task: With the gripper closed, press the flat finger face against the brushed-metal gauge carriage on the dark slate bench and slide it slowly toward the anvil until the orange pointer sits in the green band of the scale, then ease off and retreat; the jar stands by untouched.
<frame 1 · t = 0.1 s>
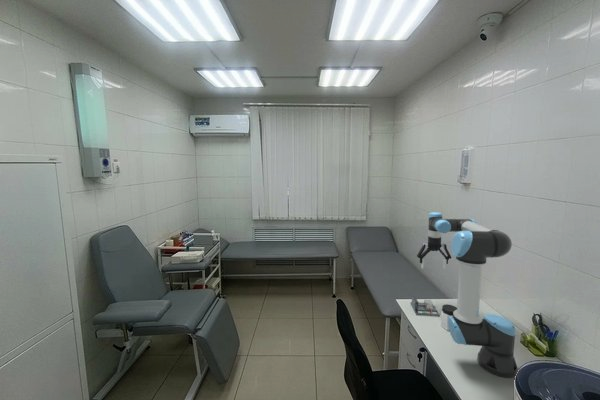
hand: (433, 268, 172), 28 cm above the table, fingers open, 13 cm apart
gauge carriage: (429, 305, 172), point 4 cm above the table, slide at 0.0 cm
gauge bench: (424, 309, 174), on the table
jar: (449, 327, 155), on the table
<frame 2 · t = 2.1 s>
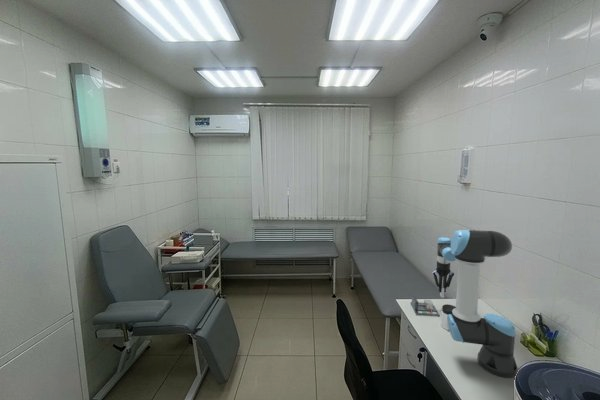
hand: (441, 296, 172), 10 cm above the table, fingers closed
nothing on the table moved.
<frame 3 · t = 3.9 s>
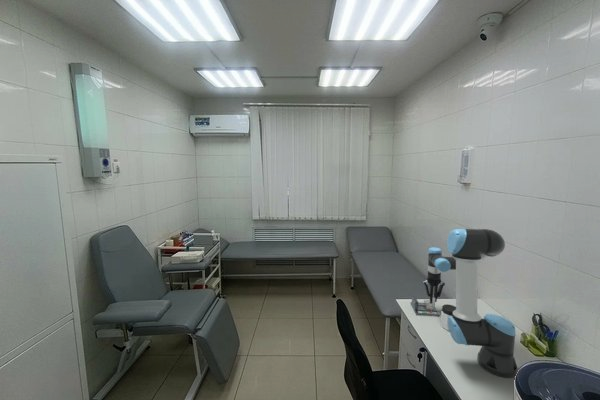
hand: (432, 306, 173), 3 cm above the table, fingers closed
gauge carriage: (429, 305, 172), point 4 cm above the table, slide at 0.0 cm, touching gripper
everything else where it was.
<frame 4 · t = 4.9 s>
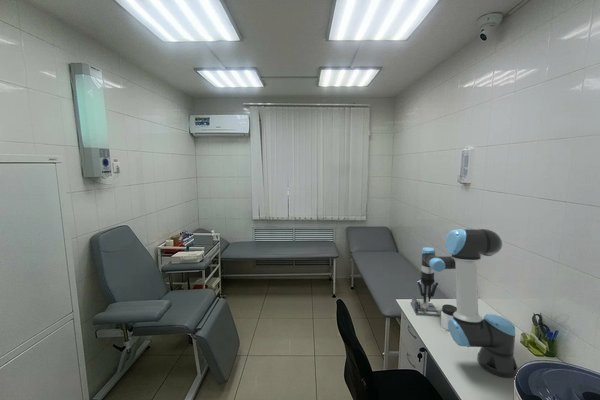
hand: (426, 305, 174), 3 cm above the table, fingers closed
gauge carriage: (423, 305, 172), point 4 cm above the table, slide at 4.0 cm, touching gripper
everything else where it was.
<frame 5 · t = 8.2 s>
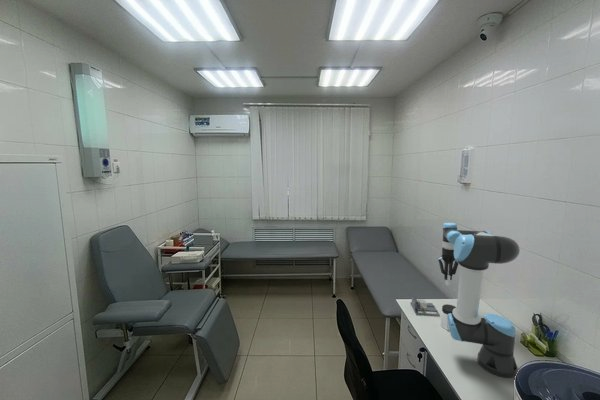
hand: (447, 284, 166), 20 cm above the table, fingers closed
gauge carriage: (422, 305, 172), point 4 cm above the table, slide at 4.0 cm
everything else where it was.
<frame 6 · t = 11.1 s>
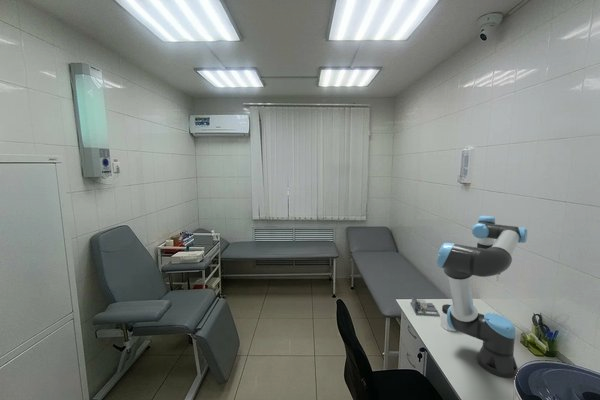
hand: (483, 279, 152), 29 cm above the table, fingers open, 13 cm apart
nothing on the table moved.
at the end: gauge carriage slide at 4.0 cm; jar moved 0.2 cm from its start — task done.
